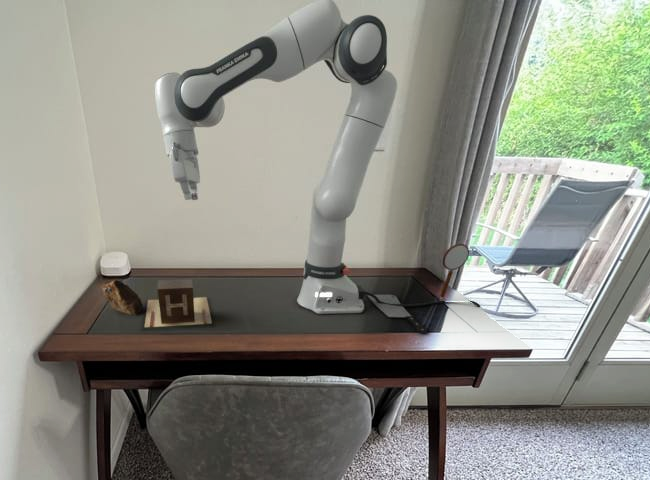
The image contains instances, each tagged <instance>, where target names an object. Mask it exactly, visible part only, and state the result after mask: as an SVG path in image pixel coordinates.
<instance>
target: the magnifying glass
mask: <svg viewBox="0 0 650 480" xmlns="http://www.w3.org/2000/svg"><path fill="white" fill-rule="evenodd" d="M469 256H470V249H469V247H468V246H467V245H466V244H464V243H457V244H453V245H451V247H449V248H448V249H447V250H446V251H445V253H444V254H443V258H442V265H443V267H444V268H445V269H446V270H448V272H447V275H446V278H445V280H444V284H443V287H442V289H441V293H440V295H439V297H440V296H441V297H445V295H446V292H447V289H448V286H449V284H450V281H451V278H452V275H453V273H454V271H455V270H458V269H460V268H461V267H462V266H464V265H465V264H466V263H467V261H468V259H469ZM439 301H443V299H440V298H439Z"/></svg>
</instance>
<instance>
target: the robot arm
mask: <svg viewBox="0 0 650 480" xmlns="http://www.w3.org/2000/svg"><path fill="white" fill-rule="evenodd" d="M321 61H324V62H325V64H326V66H327V67H328V69H329V70H330V72H331V74H332V75H333V76H334V77H335V78H336V80H338V81H339V82H342V83H345V84H350V87H351V93H350V99H349V103H348V105H347V107H346V110H345V112H344V115H343V118H342V121H341V123H340V126H339V128H338V131H337V134H336V136H335V139H334V141H333V144H332V147H331V151H330V155H329V158H328V161H327V165H326V168H325V171H324V173H323V177H322V178H321V179H320V180H318V181H317V182H316V184H315V186H314V189H313V192H312V200H311V211H310V223H309V224H310V226H309V238H308V246H307V255H306V259H305V261H304V265H303V273H302V274H303V275H302V276H303V279H302V280H303V281H302V285H301V288H300V291H299V295H298V297H297V299H296V302H297V303H298V305H299V306H301V307H303V308H305V309H307V310H311V311H313V312H314V313H316V314H318V315H328V314H329V315H331V314H333V315H334V314H335V315H336V314H361V313H363V312H364V310H365V304H364V299H365V295H366V296H367V295H369V296H371V297H373V298H374V299H375V300H376V301H377V302H378V303H382V304H389V303H384V302H382V301H380V300H379V299H378V298H377V297H376V296H375V295H376V294H375V295H373V293H372V292H371V293H370V292H368V291H366V290H365V289H364V288H363V287H362V285H356V284H355V282H354V281H352V280H351V279H350V278H349V277H348V275H349V274H350V273H351V272H350V269H349V267H347V265H346V264H345V263H344V262H342V260H343V254H344V249H345V243H346V230H347V229H346V227H347V226H346V225H347V219H348V218H349V217H350V216H351V215H352V214H353V212H354V210H355V208H356V204H357V200H358V198H359V195H360V192H361V189H362V187H363V183H364V180H365V177H366V174H367V170H368V167H369V164H370V161H371V159H372V157H373V154H374V152H375V150H376V148H377V146H378V143H379V141H380V138H381V136H382V133H383V131H384V129H385V127H386V123H387V122H388V119H389V116H390V114H391V110H392V108H393V105H394V101H395V99H396V94H397V91H398V82H397V79H396V76H395V75H394V74H393V73H392V72H391V71H389V70H387V69H386V68H387V64H388V34H387V29H386V26H385V24H384V23H383V21H382V20H381V19H380V18H379V17H377V16H375V15H372V14H364V15H360V16H358V17H356V18H354V19H353V20H351V21H350V22H349V23H347V22H345V21H344V19H343V18H342V15H341V12H340V9H339V7H338V5H337V4H336V3H335V1H334V0H315V1H312V2H310V3H308V4H307V5H305V6H303V7H300V8H299V9H297V10H295V11H294V12H292V13H291V14H290V15H288V16H286V17H285V18H284V19H281V21H280V22H278V23H277V24H275V25H273V27H271V28H270V29H268V30H267V31H265V32H264V33H263V34H261V35H260V36H258V37H257V38H255V39H254V40H252V41H250V42H249V43H246V44H245V45H243V46H241V47H239V48H237V49H236V50H234V51H233V52H231V53H229V54H228V55H226V56H224V57H222V58H221V59H219V60H218V61H216V62H215V63H213V64H211V65H208V66H205V67H199V68H191V69H188V70H186V71H184V72H182V73H181V74H180V73H179V72H176V71H175V72H168V73H166V74H163V75H162V76H160V77H159V78H158V79H157V80H156V82H155V85H154V99H155V104H156V105H155V106H156V111H157V116H158V120H159V122H160V125H161V128H162V138H163V144H164V149H165V152H166V156H167V157H168V158H169V161H170V167H171V173H172V178H173V180H174V182H175V183H178V184H179V185H180V188H181V190H182V191H181V192H182V194H183V197H184V200H185V201H190V200H192V201H197V200H199V195H198V184H200V182H201V174H200V166H199V159H198V156H199V148H198V145H197V139H196V134H195V128H212V127H215V126H216V125H218V124H219V123H220V122H221V120H222V119H223V117H224V113H225V107H226V106H225V100H224V96H227V95H228V94H230V93H231V92H234V91H235V90H237V89H239V88H240V87H242V86H244V85H245V84H247V83H248V82H251V81H253V80H259V79H260V80H261V79H263V80H268V81H271V82H275V83H282V82H284V81H287V80H290V79H291V78H294V77H296V76H298V75H300V74H301V73H303V72H304V71H305V70H307V69H309V68H310V67H312V66H313V65H315V64H316V63H319V62H321ZM434 301H435V300H433V301H432V300H431V301H428V302H422V303H407V304H405V303H403V304H402V303H400V304H389V305H394V306H403V307H404V308H414V307H415V308H416V307H423V306H429V305H434V304H447V303H446V302H445V301H444V300H442V301H440V300H437V301H438V302H434ZM469 301H470V302H472V303H473V305H475V306H476V307H477V308H481V307H482V306H481V305H480V304H479V303H478V302H476V301H475V300H469ZM472 303H471V304H472Z"/></svg>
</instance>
